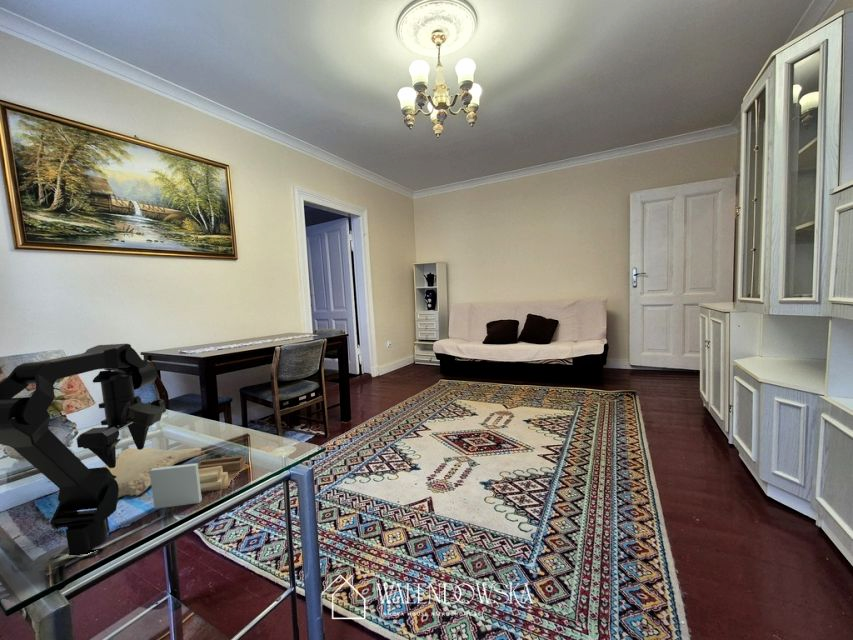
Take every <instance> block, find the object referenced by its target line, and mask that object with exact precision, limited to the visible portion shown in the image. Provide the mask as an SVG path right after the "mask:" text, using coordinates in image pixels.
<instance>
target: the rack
mask: <svg viewBox="0 0 853 640" xmlns="http://www.w3.org/2000/svg"><path fill="white" fill-rule="evenodd" d="M197 463H198V469H203V468H210V467H217V466H222V470H223V472H228V480H227V481H226V483H225V484H224V486H223V487H222V488H221V489H215V490H214V491H219V490H226V489H229V488H228V486H229V485H230V482H231V480H233V479H234V478H235V477H236V476H237V477H238V476H239V475H240V473H239V471H240V470H241V469H242V468H244V467H245V466H246V464H247V461H246V455H237V456H236V455H235V456H228V457H220V458H212V459H211V458H210V459H203V460H200V461H199V462H197ZM245 463H246V464H245ZM244 465H245V466H244ZM243 466H244V467H243ZM242 470H243V469H242ZM242 470H241V471H242ZM241 471H240V472H241ZM237 477H236V478H237ZM209 491H213V490H207V491H206V492H209ZM203 492H205V491H201V493H203Z"/></svg>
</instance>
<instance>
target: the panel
mask: <svg viewBox="0 0 853 640" xmlns="http://www.w3.org/2000/svg"><path fill="white" fill-rule="evenodd" d="M198 463H199V462H196V463H195V462H194V463H187V464H178V465H173V466H169V467H160V468H152V469H151V470H150V478H151V485H150V487H151V493H152V500H153V501H152V502H153V508H154V510H156V509H164V508H171V507H178V506H186V505H194V504H200V503H201V502H202V501H203V499H202V492H201V488H200V480H199V471H198Z"/></svg>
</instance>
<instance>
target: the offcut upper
mask: <svg viewBox="0 0 853 640" xmlns="http://www.w3.org/2000/svg"><path fill="white" fill-rule="evenodd" d="M198 471H199V480H200V484H203V483H209V482H215V481H218V480H219V478H220V476H221V475H222V473H223V470H222V466H217V467H210V468H203V469H198Z"/></svg>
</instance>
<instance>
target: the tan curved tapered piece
mask: <svg viewBox="0 0 853 640" xmlns="http://www.w3.org/2000/svg"><path fill="white" fill-rule="evenodd" d="M201 453H202V448H201V447H196V448H195V447H193V448H192V447H191V448H185V449H169V450H168V449H167V450H164V449H160V448H156V447H153V446H146V447H144V448H143V449H141V450H138V449H137V448H131V447H129V448H126V449H124V450H122V451H120V452H118V454H116V467H115V468H109V467H108V466H107V465H106V464H105V465H104V466H103V467H106V468H108V469H109V470H110V472H111V474H113V475H114V476H116V478H115V480H116V481H117V483H118V487H119V492H118V499H119V498H122V497H125V496H131V497H132V496H139V495H141V494H143V493H144V492H146V490H147V489H148V488H149V487H151V478H150V470H151V469H152V468H160V467H169V466H175V464H178V463H181V462H183V461H186V460H188V459H192V458H194V457H195V458H196V457H197V456H200V455H201Z"/></svg>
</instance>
